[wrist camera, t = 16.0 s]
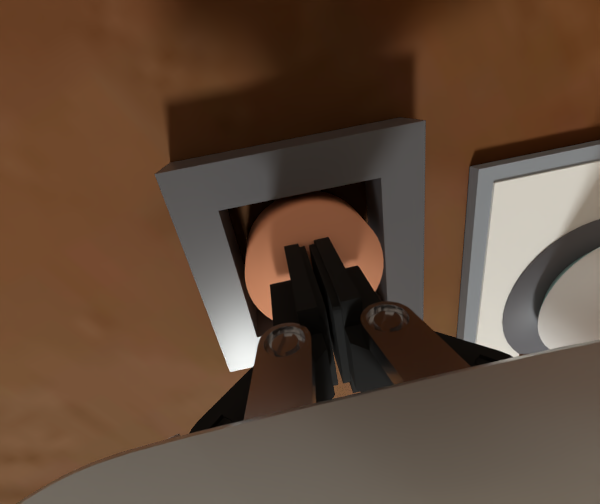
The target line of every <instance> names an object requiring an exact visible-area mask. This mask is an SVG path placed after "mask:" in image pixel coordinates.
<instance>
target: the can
mask: <svg viewBox="0 0 600 504" xmlns="http://www.w3.org/2000/svg"><path fill="white" fill-rule="evenodd" d="M538 333H539V336H540V339H541V340H542V342H543V343H544V345H545V346H546V347H548V348H549V349H553V348H558V347H563V346H568V345H573V344H578V343H584V342H589V341H594V340H600V247H599V248H597V249H595V250H593V251H591V252H589V253H587V254H585V255H583V256H582V257H580V258H578V259H577V260H575V261H574V262H573V263H571V264H570V265H569V266H568V267H566V268H565V269H564V270H563V271H562V272H561V273H560V274H559V275H558V276H557V277H556V279H555V280H554V281H553V282H552V284H551V285H550V287H549V289H548V290H547V292H546V294H545V297H544V299H543V303H542V305H541V308H540V312H539V318H538Z"/></svg>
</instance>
